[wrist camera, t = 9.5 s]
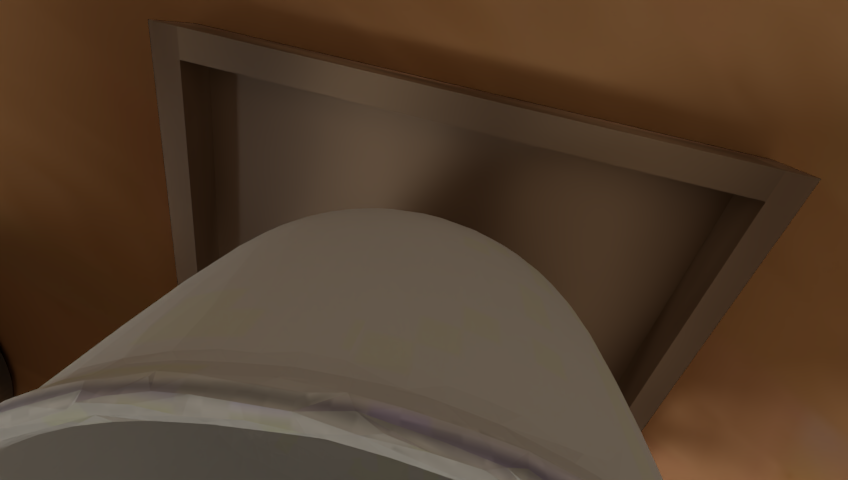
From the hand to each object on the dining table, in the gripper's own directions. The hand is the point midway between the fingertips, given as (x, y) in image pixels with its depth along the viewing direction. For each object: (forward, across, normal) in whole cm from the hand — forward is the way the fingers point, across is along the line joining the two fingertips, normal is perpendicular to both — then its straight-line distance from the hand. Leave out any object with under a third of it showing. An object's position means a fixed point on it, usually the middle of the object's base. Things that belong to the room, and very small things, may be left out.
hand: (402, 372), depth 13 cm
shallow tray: (+3, 0, 0) cm, 3 cm away
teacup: (0, 0, 0) cm, 1 cm away
